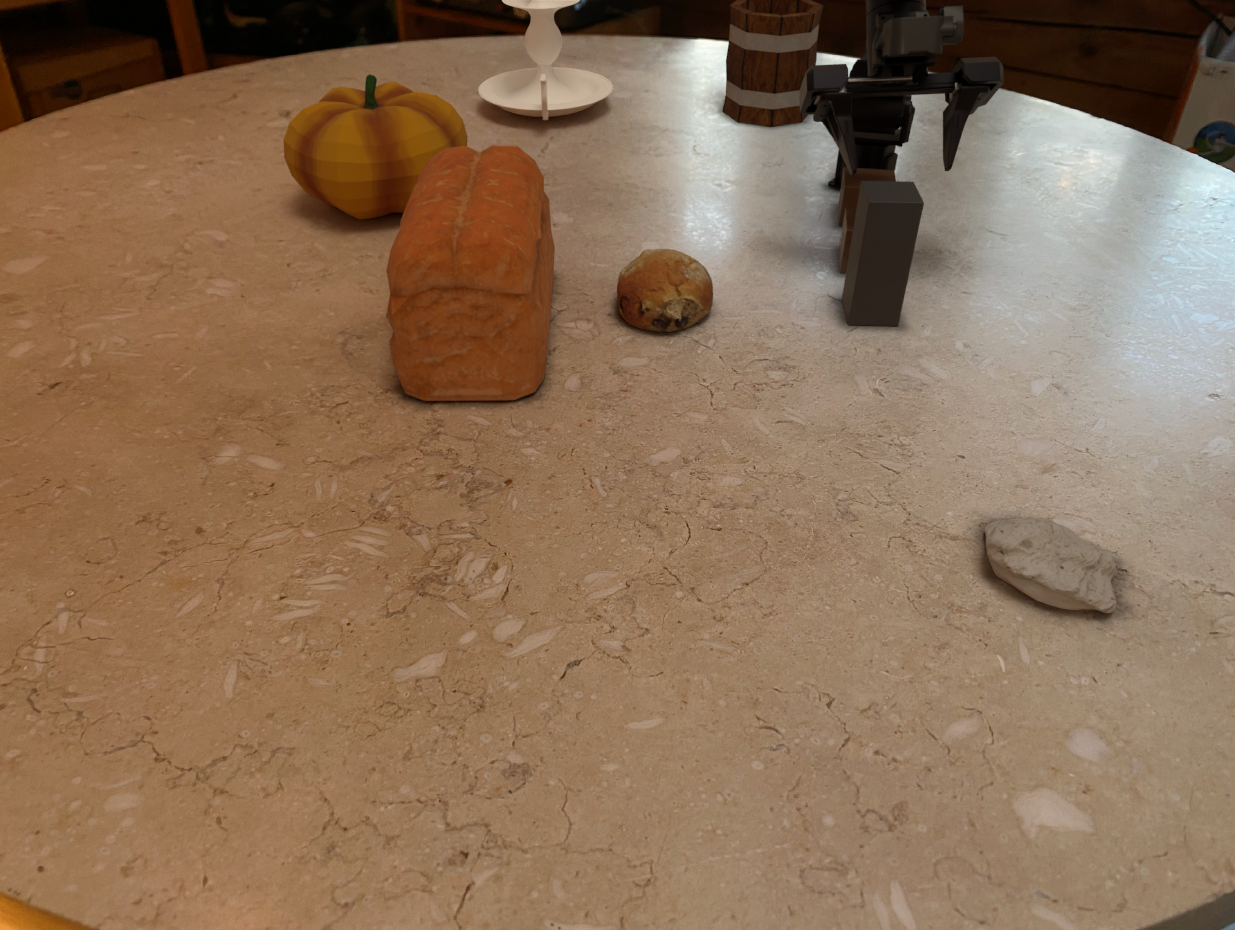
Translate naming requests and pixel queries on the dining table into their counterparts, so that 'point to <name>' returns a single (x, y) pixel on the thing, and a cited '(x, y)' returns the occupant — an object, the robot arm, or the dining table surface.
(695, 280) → the bread roll
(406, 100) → the decorative pumpkin
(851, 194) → the block
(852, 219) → the block
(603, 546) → the dining table surface
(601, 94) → the candlestick
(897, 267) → the tall block
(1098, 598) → the stone
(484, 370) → the bread
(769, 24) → the mug
